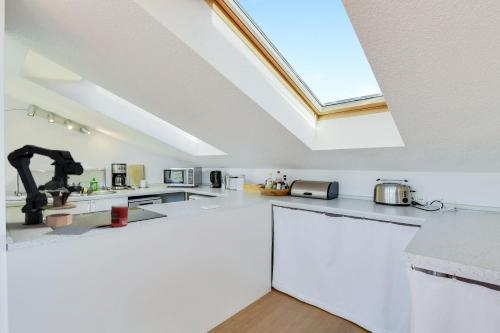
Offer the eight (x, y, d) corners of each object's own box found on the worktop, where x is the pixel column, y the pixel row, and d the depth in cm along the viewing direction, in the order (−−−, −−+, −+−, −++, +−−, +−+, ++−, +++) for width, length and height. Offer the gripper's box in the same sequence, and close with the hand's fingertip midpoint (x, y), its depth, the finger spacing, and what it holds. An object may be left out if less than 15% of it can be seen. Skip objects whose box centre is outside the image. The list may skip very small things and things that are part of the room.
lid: (34, 209, 125) (35, 197, 125) (55, 205, 139) (55, 194, 139) (64, 210, 125) (65, 198, 125) (82, 205, 139) (82, 195, 139)
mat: (42, 235, 113) (42, 234, 113) (66, 226, 129) (66, 225, 129) (80, 235, 114) (80, 234, 114) (99, 227, 130) (99, 226, 130)
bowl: (40, 227, 127) (41, 217, 127) (55, 222, 137) (55, 213, 137) (62, 227, 128) (63, 217, 128) (75, 222, 138) (76, 213, 138)
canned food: (128, 224, 138) (128, 203, 138) (126, 227, 130) (127, 205, 130) (112, 225, 135) (112, 204, 135) (109, 228, 127) (110, 206, 128)
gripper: (29, 174, 123) (28, 206, 123) (69, 176, 124) (68, 208, 124) (46, 173, 135) (45, 203, 134) (83, 175, 135) (82, 204, 135)
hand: (59, 205), depth 132 cm, fingers closed on lid, 3 cm apart
